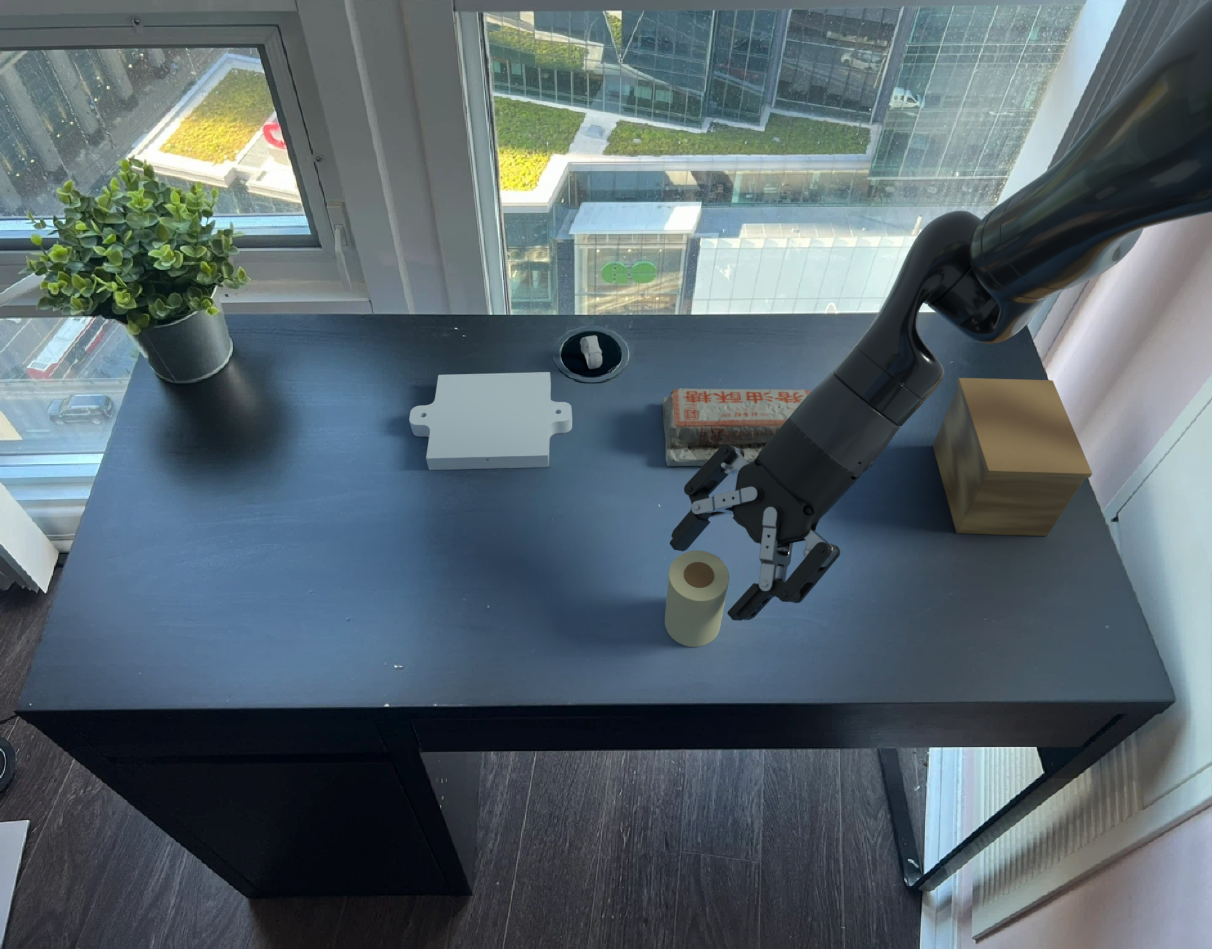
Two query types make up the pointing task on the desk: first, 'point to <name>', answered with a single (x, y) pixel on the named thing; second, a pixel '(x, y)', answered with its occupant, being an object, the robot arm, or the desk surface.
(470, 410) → the mounting plate
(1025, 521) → the oak box
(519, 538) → the desk surface
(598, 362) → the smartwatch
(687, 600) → the toilet paper roll
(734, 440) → the packaged product
